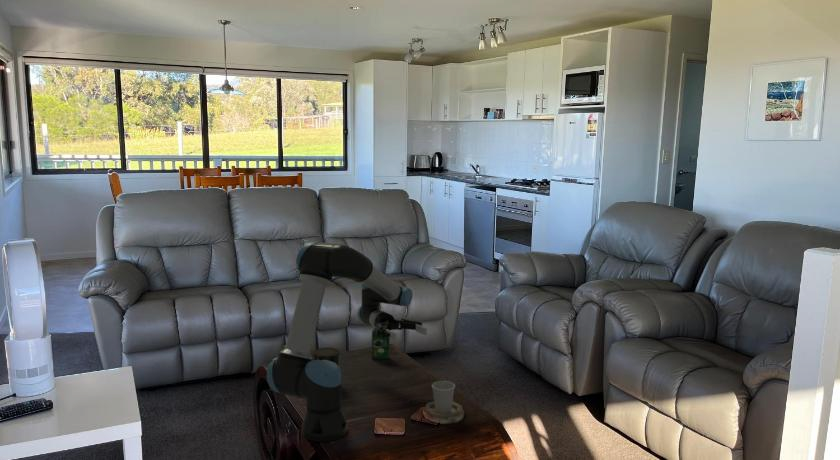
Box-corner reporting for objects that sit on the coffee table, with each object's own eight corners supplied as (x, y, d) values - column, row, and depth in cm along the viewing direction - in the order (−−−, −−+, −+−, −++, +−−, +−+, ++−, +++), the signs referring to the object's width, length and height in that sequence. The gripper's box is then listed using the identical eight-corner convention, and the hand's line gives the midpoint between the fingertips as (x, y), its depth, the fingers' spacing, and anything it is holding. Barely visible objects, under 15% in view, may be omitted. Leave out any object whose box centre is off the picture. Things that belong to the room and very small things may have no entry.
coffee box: (390, 357, 273) (390, 329, 272) (389, 359, 271) (389, 331, 269) (372, 356, 274) (372, 328, 272) (371, 358, 271) (371, 330, 269)
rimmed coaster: (438, 427, 205) (438, 421, 205) (414, 411, 217) (414, 405, 217) (472, 416, 213) (472, 410, 213) (447, 402, 226) (447, 395, 225)
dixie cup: (453, 417, 211) (453, 390, 209) (429, 415, 212) (429, 388, 211) (456, 407, 219) (456, 381, 217) (433, 405, 220) (433, 379, 219)
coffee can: (334, 391, 235) (334, 357, 233) (310, 389, 237) (309, 354, 235) (343, 381, 244) (343, 348, 243) (320, 379, 247) (319, 346, 245)
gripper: (408, 325, 250) (437, 338, 232) (354, 334, 236) (382, 349, 218) (408, 308, 249) (438, 320, 231) (354, 316, 235) (382, 329, 218)
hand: (411, 334), depth 225 cm, fingers open, 13 cm apart
